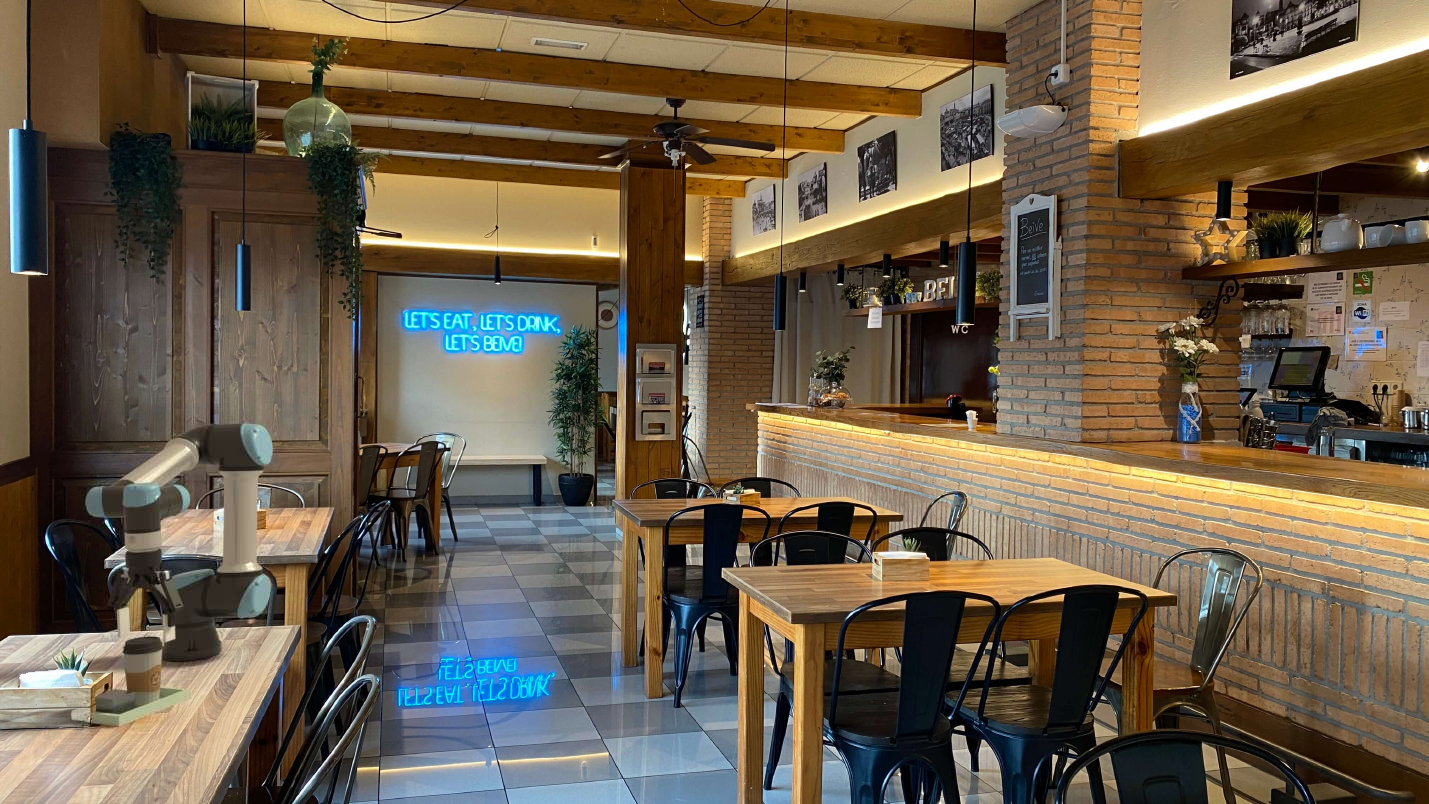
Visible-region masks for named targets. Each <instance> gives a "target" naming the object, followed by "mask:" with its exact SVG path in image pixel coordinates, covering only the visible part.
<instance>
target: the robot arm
mask: <svg viewBox="0 0 1429 804" xmlns="http://www.w3.org/2000/svg"><path fill="white" fill-rule="evenodd" d="M273 447H274V446H273V441H272V438H271V436H270V433H269V432H268V430H267V429H266V428H265V427H264V426H263V425H260V424H257V423H256V424H255V423H247V422H246V423H206V424H202V425H198V426H196V427H193V428H191V429H188V430H186V431H184V432H182V433H180V434H178V435H177V436H176V435H175V437H174V438H171V439H170V440H168V442H166V444H165V446H164V448H163V450H161V451H160V452H158V453H156V454H154V456H152V457H151V458H148V460H146V461H145V462H144V463H142V464H140V465H139V466H138V467H136V468H135V469H133V470H132V471H130V472H129V473H127V474H126V475H124V476H123V477H122V478H120V479H118V480H117V481H115V482H114V483H113V484H112V485H110V486H106V485H102V486H94V487H92V488H91V489H90V490H89V491H88V492H87V494H86V497H85V506H86V510H87V512H88V514H89V515H90V516H92V517H95V518H105V519H109V518H123V522H124V548H125V550H126V551H125V553H124V555H125V557H124V558H125V566H123V567H121V568H117V570H116V571H117V572H116V579H115V582H114V585H113V587H112V589H111V593H110V596H109V598H108V601H107V605H108V607H111V606H112V607H113V609H115V621H116V623H117V637H118V638H122V637H123V638H124V637H126V636H128V635H130V634H131V629H130V628H131V623H130V622H131V620H130V607H128V606H129V604H128V603H129V602H130V601H131V599H132V598H133V596H134V594H135V593H136V592H137V591H138V590H139V589H142V590H148V592H150V593H152V594H153V597H154V598H155V600H156V601H157V602H158V604H159V606H160V607H161V608H162V610H163V611H164V613H163V614H162V636H163V641H162V643H163V645H162V646H163V649H162V659H161V660H164V661H168V662H188V661H189V662H190V661H197V660H203V659H207V658H211V657H214V656H217V655H219V654H220V653H222V649H223V648H222V647H223V645H222V641H221V639H220V637H219V634H218V630H217V628H216V625H215V618H239V619H244V618H255V617H258V616H259V615H261V614H262V613H263V611H264V610H265V608H266V606H267V605H268V602H269V600H270V596H271V589H272V584H271V580H270V578H269V577H270V576H269V577H268V575H265V574H263V567H262V566H261V565H260V564H259V563H258V560H257V559H258V558H257V557H258V556H257V555H258V554H257V553H258V497H259V496H258V492H259V491H258V489H259V486H258V485H259V484H258V483H259V480H258V479H259V476H261V475H262V474H263V473H264V471H265V466H267V465H269V464H270V463H271V461H272V457H273V454H274V453H273V452H274V450H273V449H274V448H273ZM200 466H218V470H217V471H218V474H220V475H221V476H222V477H223V479H224V480H223V483H224V484H223V486H224V487H223V490H224V491H223V534H222V535H223V541H222V543H223V546H222V547H223V548H222V565H220V566H219V567H218V568H217V569H216V575H215V572H214V570H213V569H211V568H205V569H203V568H202V569H197V570H191V571H186V572H182V573H179V574H175V575H172V574H173V573H172V570H171V569H167V570H164V571H163V570H162V571H161V569H160V566H161V564H162V563H163V556H162V555H163V553H162V548H160V547H162V545H163V544H162V524H161V522H162V521H161V520H164V519H166V518H169V517H175V516H178V515H179V514H181V513H182V514H183V512H185V511H186V510H187V509H188V508H189V506H190V504H191V495H190V493H189V491H188V489H187V488H186V487H184V486H183V485H180V484H167V483H169V482H171V481H172V480H173V479H174V478H175V477H177V476H178V475H179V474H181V473H182V472H188V471H190V470H193V469H194V468H195V467H200ZM166 484H167V485H166Z"/></svg>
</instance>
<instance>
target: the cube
mask: <svg viewBox="0 0 1429 804" xmlns="http://www.w3.org/2000/svg"><path fill="white" fill-rule="evenodd" d="M97 695H98V696H97V697H95V702H96V712H102V713H110V714H118V715H120V714H122V713H125V712H128V711H130V710H133V709H135V691H127V689H117V688H114V689H111V690H108V691H106V692H103V693H100V694H97Z"/></svg>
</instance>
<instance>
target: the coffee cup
mask: <svg viewBox="0 0 1429 804" xmlns="http://www.w3.org/2000/svg"><path fill="white" fill-rule="evenodd" d="M163 646H164V645H163V641H161V637H159V636H151V635H150V636H149V635H148V636H140V637H134V638H130V639H127V640H126V641H125V642H124V645H123V647H122V649H123V650H122V654H123V657H124V658H123V659H124V673H125V674H124V675H125V685H126V690H127V691H135V707H141V706H143V705H146V704H149V703H151V702H154V701H157V700H159V696H160V686H161V683H162V682H161V679H162V660H163V659H162V649H163Z"/></svg>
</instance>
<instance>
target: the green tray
mask: <svg viewBox="0 0 1429 804" xmlns="http://www.w3.org/2000/svg"><path fill="white" fill-rule="evenodd" d="M188 700H191V689H190V688H183V687H174V686H173V687H172V686H165V685H164V686H163V685H160V696H159V700H157V701H154V702H151V703H149V704H146V705H143V706H141V707H135V709H133V710H130V711H128V712H125V713H122V714H120V715H118V714H110V713H102V712H92V713H91V715H92V716H91V718H92V720H91V723H90V724H94V725H95V724H97V725H105V726H111V727H112V726H113V727H119V728H120V727H122V726H124V725H127V724H129V723H132V722H135V721H137V720H139V719H143V718H145V717H147V716H150V715H152V714H155V713H158V712H160V711H162V710H165V709H168V708H171V707H173V706H175V705H178V704H180V703H183V702H185V701H188Z"/></svg>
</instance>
